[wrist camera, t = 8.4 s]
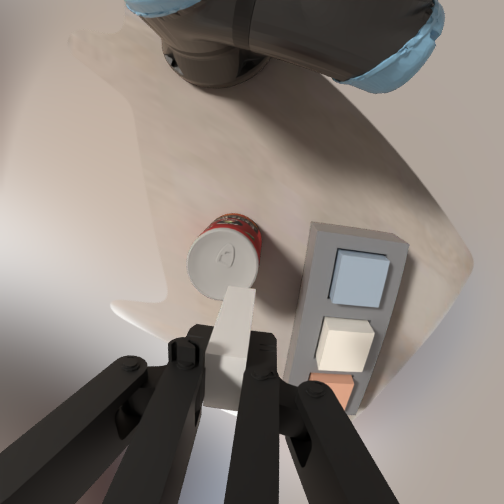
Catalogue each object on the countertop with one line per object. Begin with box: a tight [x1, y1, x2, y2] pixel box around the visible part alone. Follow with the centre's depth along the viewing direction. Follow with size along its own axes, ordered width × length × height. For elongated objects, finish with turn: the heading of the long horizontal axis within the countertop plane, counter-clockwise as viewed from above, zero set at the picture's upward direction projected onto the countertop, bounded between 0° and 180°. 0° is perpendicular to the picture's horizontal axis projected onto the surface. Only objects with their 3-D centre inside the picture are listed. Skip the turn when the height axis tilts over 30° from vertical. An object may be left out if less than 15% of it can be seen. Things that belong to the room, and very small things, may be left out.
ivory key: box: [315, 316, 375, 372], centre depth 40 cm, size 6×6×5 cm
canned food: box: [187, 213, 262, 301], centre depth 38 cm, size 8×8×11 cm
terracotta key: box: [308, 372, 354, 410], centre depth 43 cm, size 6×6×5 cm
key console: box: [283, 222, 409, 415], centre depth 43 cm, size 28×12×6 cm, turn 174°
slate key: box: [328, 248, 390, 308], centre depth 38 cm, size 6×6×5 cm
